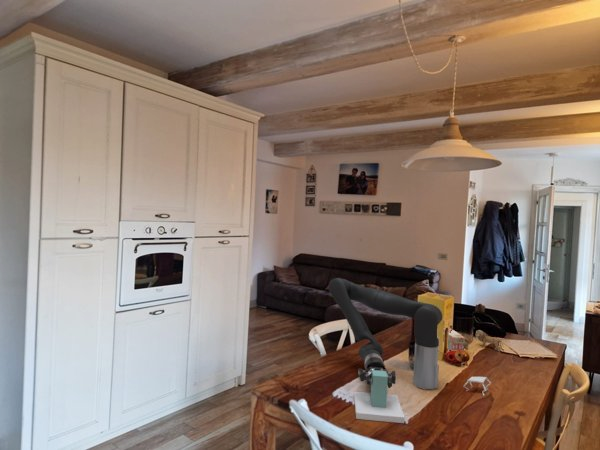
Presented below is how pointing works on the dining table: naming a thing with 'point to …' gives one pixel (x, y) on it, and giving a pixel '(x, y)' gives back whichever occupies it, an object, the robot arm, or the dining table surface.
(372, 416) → the white board
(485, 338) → the lion figurine
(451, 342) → the white printed carton
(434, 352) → the robot arm
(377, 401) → the teal block
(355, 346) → the dining table surface
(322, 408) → the dining table surface
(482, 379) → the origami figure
